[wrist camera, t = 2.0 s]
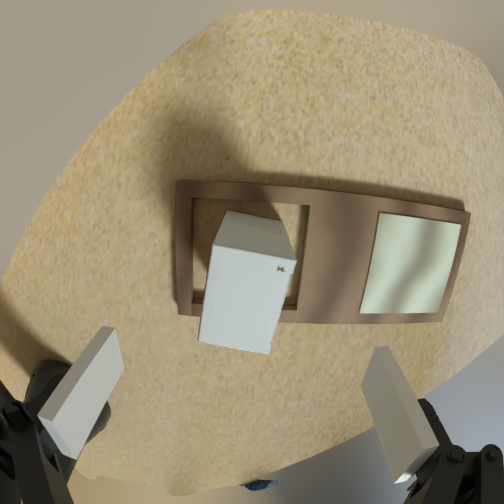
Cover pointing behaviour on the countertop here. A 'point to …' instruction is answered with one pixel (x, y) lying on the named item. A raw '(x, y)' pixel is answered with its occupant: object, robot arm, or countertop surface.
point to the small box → (246, 283)
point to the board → (346, 253)
